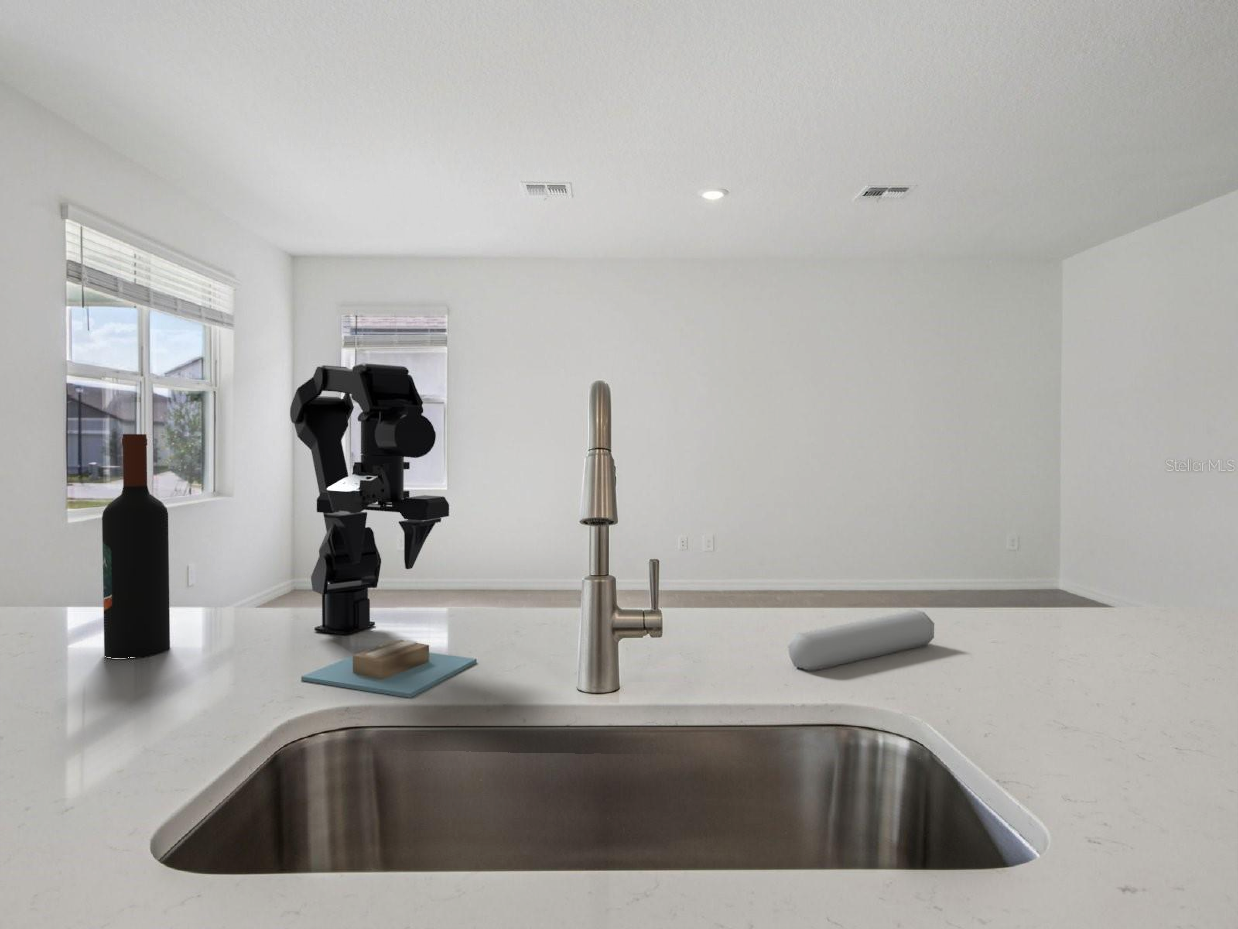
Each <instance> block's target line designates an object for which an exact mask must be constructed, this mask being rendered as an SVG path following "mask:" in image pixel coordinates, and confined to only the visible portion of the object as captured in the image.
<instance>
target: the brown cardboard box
mask: <svg viewBox="0 0 1238 929" xmlns="http://www.w3.org/2000/svg"><path fill="white" fill-rule="evenodd" d="M379 646H380V647H377V648H374V647H373V648H374V649H371V648H370V649H371V650H369V649H367V650H368V651H366V650H365V652H364V651H362V653H361V652H358V653H357V654H353V655H352V656H353V673H355V674H360V675H364V676H368V677H373V678H377V679H381V680H382V679H385V678H387V677H390V676H393V675H395V674H398V673H401V672H403V671H406V670H409V669H411V668H414V667H417V666H419V665H422V664H425V663H427V662H429V653H430V644H425V643H420V642H417V641H413V640H408V639H407V640H405V639H399V640H396V641H393V642H389V643H387V644H384V645H379Z"/></svg>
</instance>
